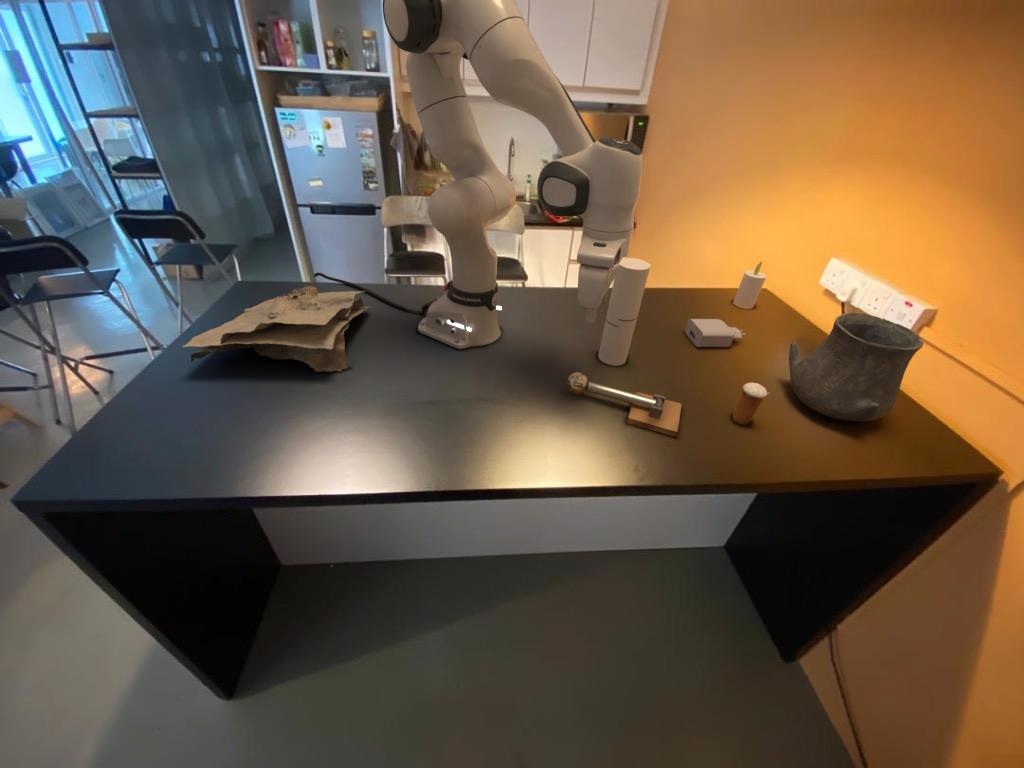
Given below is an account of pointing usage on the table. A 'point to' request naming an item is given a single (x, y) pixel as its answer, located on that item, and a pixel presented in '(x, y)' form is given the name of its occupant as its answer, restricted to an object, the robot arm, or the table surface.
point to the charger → (711, 333)
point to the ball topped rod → (608, 391)
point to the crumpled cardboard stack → (290, 329)
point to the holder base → (656, 416)
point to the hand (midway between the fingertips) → (595, 311)
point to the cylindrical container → (623, 310)
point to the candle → (749, 288)
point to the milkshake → (749, 402)
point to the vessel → (854, 368)
